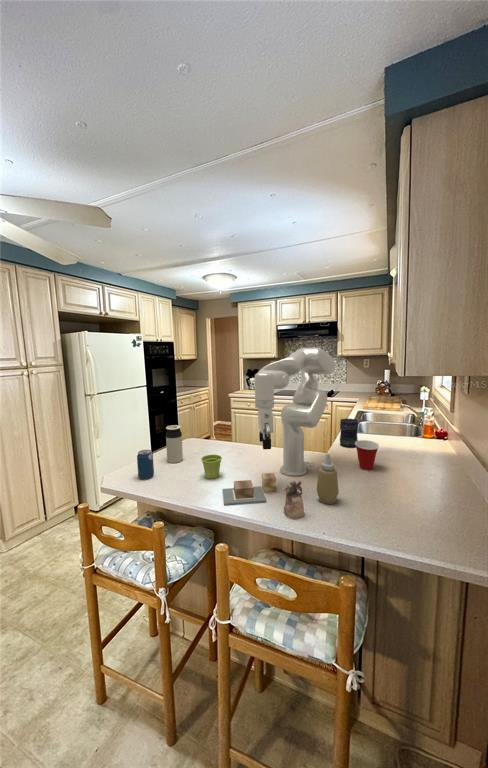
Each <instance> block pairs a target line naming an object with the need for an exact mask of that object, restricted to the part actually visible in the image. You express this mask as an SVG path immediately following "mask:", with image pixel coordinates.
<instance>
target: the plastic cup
mask: <svg viewBox="0 0 488 768" xmlns="http://www.w3.org/2000/svg"><path fill="white" fill-rule="evenodd" d="M355 445H356V448H355V449H356V453H357V459H358V465H359V468H360V469H362V470H365V471H371V470H373V468H374V464H375V460H376V457H377V453H378V449H379V448H380V444H379V443H377V442H375V441H372V440H367V439H366V440H365V439H364V440H363V439H360V440H358V441H356V442H355Z"/></svg>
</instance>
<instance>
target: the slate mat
mask: <svg viewBox="0 0 488 768" xmlns="http://www.w3.org/2000/svg"><path fill="white" fill-rule="evenodd" d="M253 488H254V498H243V499H235V494H234V487H231V488H222V499H223V505H224V506H235V505H251V504H261V503H263V504H264V503H267V499H266V495H265V493H264V491H263V489H262V485H259V486H257V485H256V486H253Z"/></svg>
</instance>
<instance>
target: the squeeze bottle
mask: <svg viewBox="0 0 488 768" xmlns="http://www.w3.org/2000/svg"><path fill="white" fill-rule="evenodd" d="M317 473H318V475H317V483H316V493H317V495H318V498H319V499H318V500H319V501H320V502H321V503H323V504H326V505H328V504H331V505H332V504H334V503H335V502H336V500H337V497H338V495H339V492H340V491H339V483H338V482H339V481H338V471H337V470H336V469H335V463H333V462H332V460H331V454H330V453H326V454H325V458H324V461H323V462H321V466H320V468H319V469H318V472H317Z"/></svg>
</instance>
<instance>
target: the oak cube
mask: <svg viewBox="0 0 488 768" xmlns="http://www.w3.org/2000/svg"><path fill="white" fill-rule="evenodd" d="M261 487H262V490H263V492H264V494H270V493H271V494H272V493H277V476H276V475H275V473H274V472H272V473H271V472H270V473H261Z"/></svg>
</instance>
